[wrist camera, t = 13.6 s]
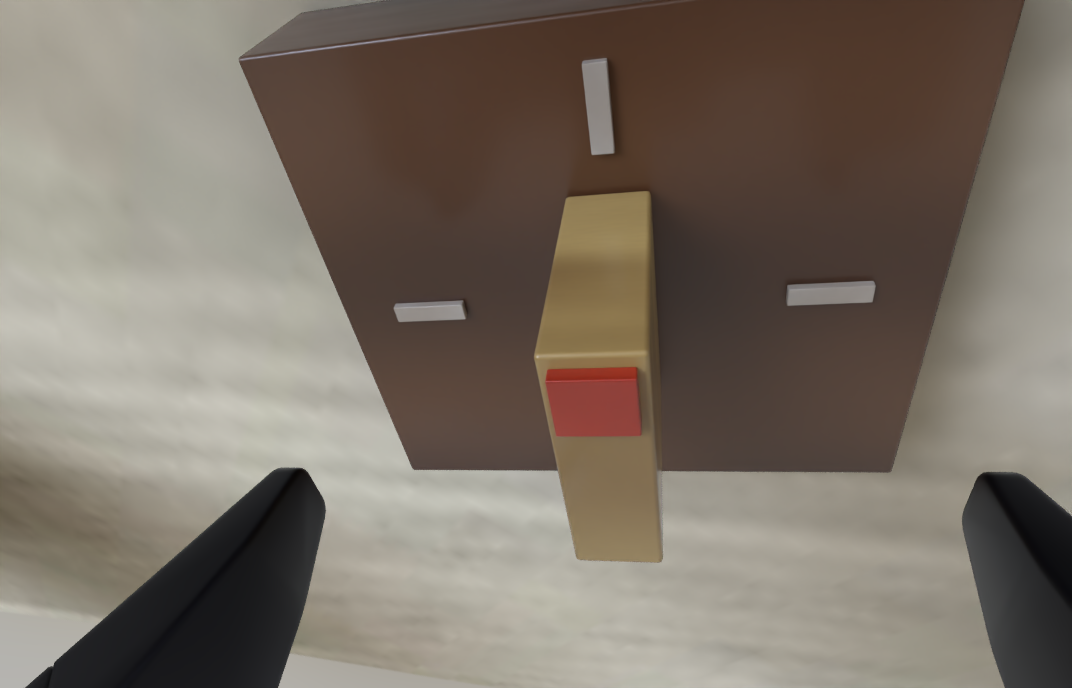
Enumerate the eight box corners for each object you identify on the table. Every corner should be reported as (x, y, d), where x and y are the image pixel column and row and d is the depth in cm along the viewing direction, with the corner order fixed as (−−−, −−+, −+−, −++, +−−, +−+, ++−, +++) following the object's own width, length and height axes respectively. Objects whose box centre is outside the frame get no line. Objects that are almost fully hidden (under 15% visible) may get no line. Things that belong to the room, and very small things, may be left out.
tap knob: (661, 388, 14) (663, 578, 10) (592, 389, 14) (574, 575, 11) (651, 188, 11) (649, 366, 8) (565, 195, 11) (530, 370, 8)
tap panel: (865, 392, 16) (894, 479, 14) (436, 399, 19) (410, 475, 17) (969, -86, 10) (1047, -48, 8) (299, 12, 12) (230, 61, 10)
